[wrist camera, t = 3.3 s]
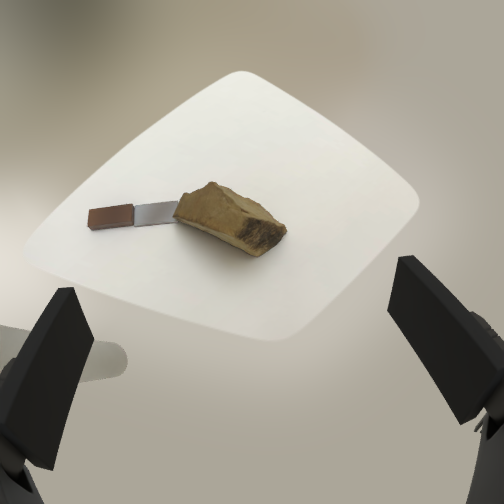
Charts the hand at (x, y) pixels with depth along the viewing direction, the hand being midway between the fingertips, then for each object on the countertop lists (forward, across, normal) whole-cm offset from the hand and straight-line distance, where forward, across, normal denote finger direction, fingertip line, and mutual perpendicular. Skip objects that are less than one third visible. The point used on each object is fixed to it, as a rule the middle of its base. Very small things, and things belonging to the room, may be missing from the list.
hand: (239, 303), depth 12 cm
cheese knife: (+22, -10, -4) cm, 24 cm away
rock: (+20, 0, -5) cm, 21 cm away
